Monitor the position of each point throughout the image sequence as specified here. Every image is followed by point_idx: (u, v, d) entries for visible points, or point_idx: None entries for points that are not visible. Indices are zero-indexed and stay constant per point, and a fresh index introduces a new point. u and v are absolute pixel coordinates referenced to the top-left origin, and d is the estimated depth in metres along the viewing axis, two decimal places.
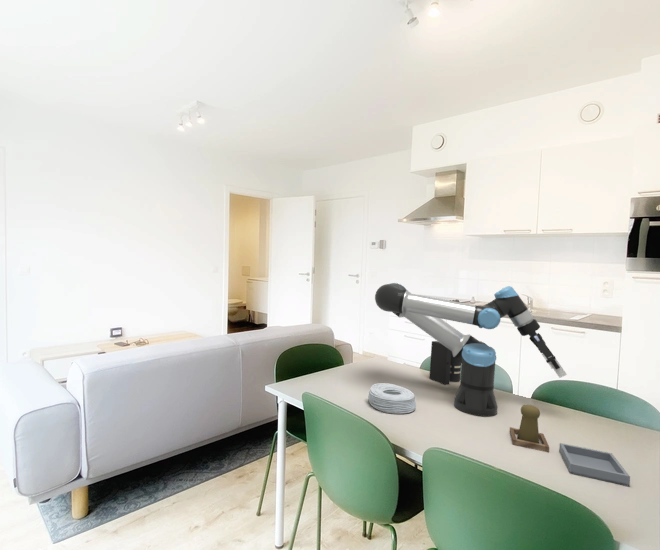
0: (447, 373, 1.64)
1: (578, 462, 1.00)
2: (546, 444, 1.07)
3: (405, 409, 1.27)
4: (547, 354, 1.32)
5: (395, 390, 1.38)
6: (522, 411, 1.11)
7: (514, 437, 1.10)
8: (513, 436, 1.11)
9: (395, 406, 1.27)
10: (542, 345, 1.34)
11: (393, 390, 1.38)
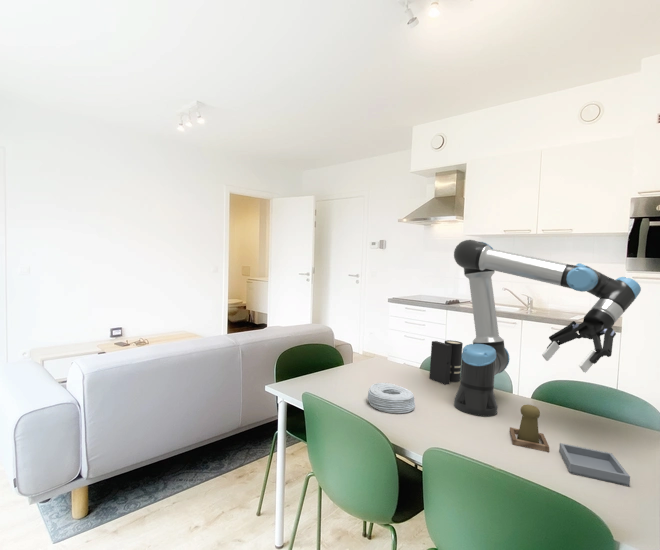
0: (447, 373, 1.64)
1: (578, 462, 1.00)
2: (546, 444, 1.07)
3: (404, 409, 1.28)
4: (609, 347, 1.07)
5: (394, 390, 1.38)
6: (522, 411, 1.11)
7: (514, 437, 1.10)
8: (513, 436, 1.11)
9: (394, 406, 1.27)
10: (610, 339, 1.09)
11: (392, 390, 1.38)
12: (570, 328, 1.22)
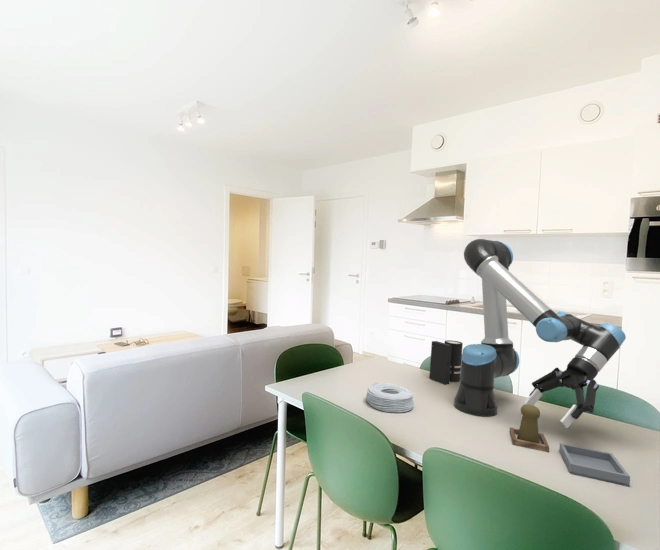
0: (447, 373, 1.64)
1: (578, 462, 1.00)
2: (546, 444, 1.07)
3: (403, 408, 1.28)
4: (591, 402, 1.03)
5: (393, 389, 1.39)
6: (522, 411, 1.11)
7: (514, 437, 1.10)
8: (513, 436, 1.11)
9: (393, 405, 1.28)
10: (593, 393, 1.05)
11: (391, 389, 1.39)
12: (553, 375, 1.19)
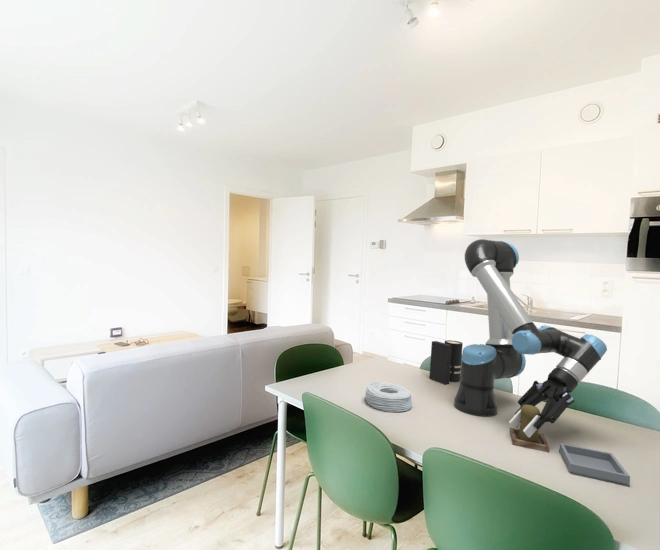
0: (447, 373, 1.64)
1: (578, 462, 1.00)
2: (546, 444, 1.07)
3: (401, 407, 1.29)
4: (555, 414, 1.06)
5: (392, 389, 1.39)
6: (522, 411, 1.11)
7: (514, 437, 1.10)
8: (513, 436, 1.11)
9: (392, 404, 1.28)
10: (563, 406, 1.07)
11: (390, 389, 1.40)
12: (535, 388, 1.18)
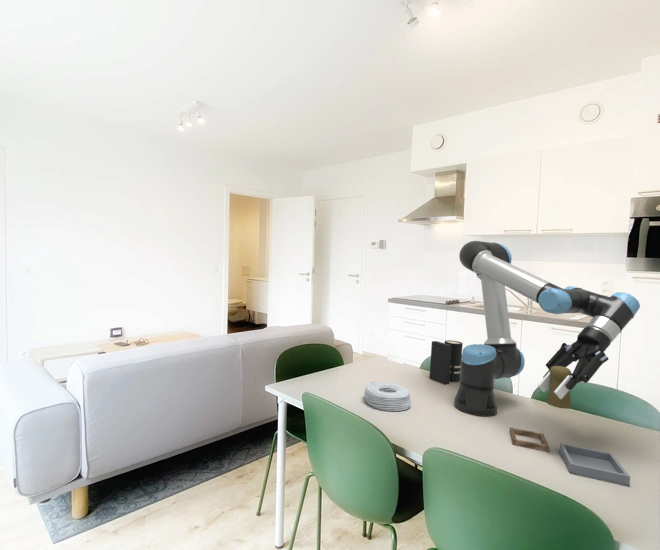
0: (447, 373, 1.64)
1: (578, 462, 1.00)
2: (546, 444, 1.07)
3: (400, 406, 1.29)
4: (588, 373, 0.99)
5: (390, 388, 1.40)
6: (552, 372, 1.05)
7: (514, 437, 1.10)
8: (513, 436, 1.11)
9: (390, 403, 1.29)
10: (597, 364, 1.00)
11: (389, 388, 1.40)
12: (564, 350, 1.11)
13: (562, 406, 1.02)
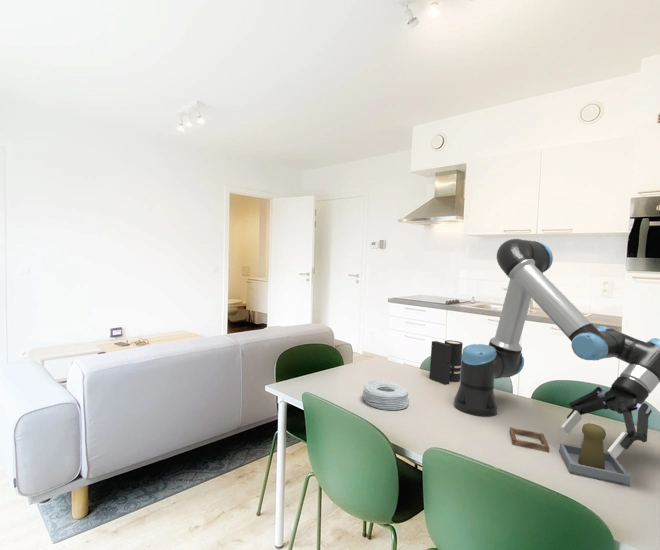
0: (447, 373, 1.64)
1: None
2: (546, 444, 1.07)
3: (398, 405, 1.30)
4: (644, 430, 0.90)
5: (389, 387, 1.41)
6: (585, 431, 0.98)
7: (514, 437, 1.10)
8: (513, 436, 1.11)
9: (388, 403, 1.30)
10: (646, 419, 0.92)
11: (387, 387, 1.41)
12: (595, 395, 1.05)
13: None
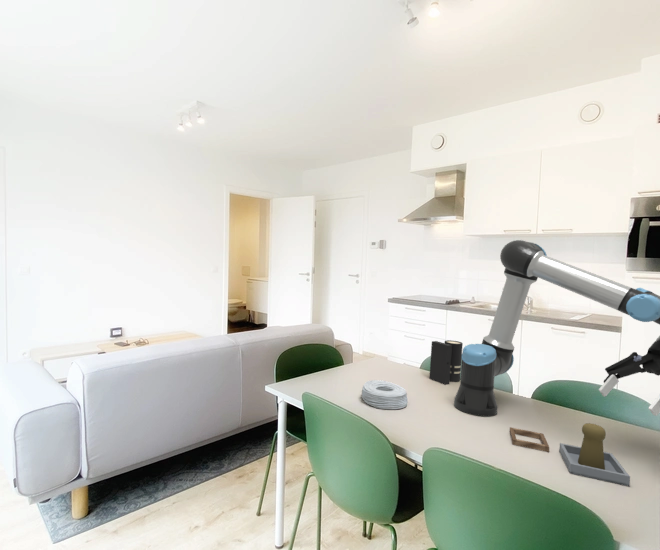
0: (447, 373, 1.64)
1: None
2: (546, 444, 1.07)
3: (397, 405, 1.31)
4: None
5: (388, 387, 1.41)
6: (584, 431, 0.98)
7: (514, 437, 1.10)
8: (513, 436, 1.11)
9: (387, 402, 1.30)
10: None
11: (386, 387, 1.42)
12: (631, 360, 1.08)
13: None
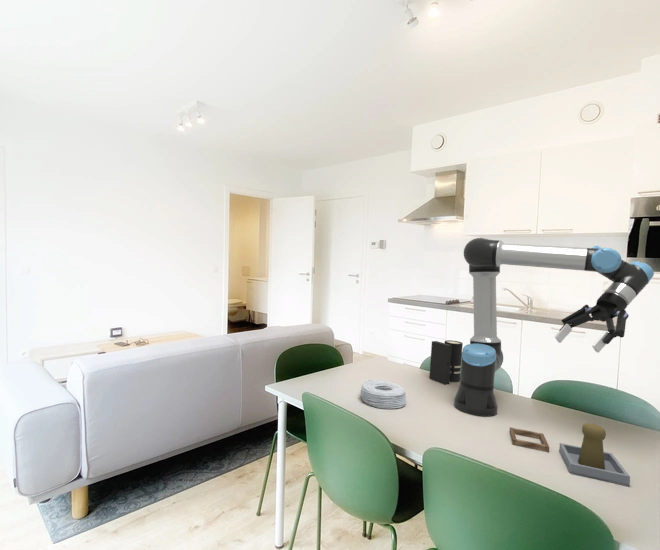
0: (447, 373, 1.64)
1: None
2: (546, 444, 1.07)
3: (396, 404, 1.31)
4: (622, 328, 1.09)
5: (387, 386, 1.42)
6: (585, 431, 0.98)
7: (514, 437, 1.10)
8: (513, 436, 1.11)
9: (386, 401, 1.31)
10: (623, 320, 1.12)
11: (385, 386, 1.42)
12: (583, 311, 1.25)
13: None
